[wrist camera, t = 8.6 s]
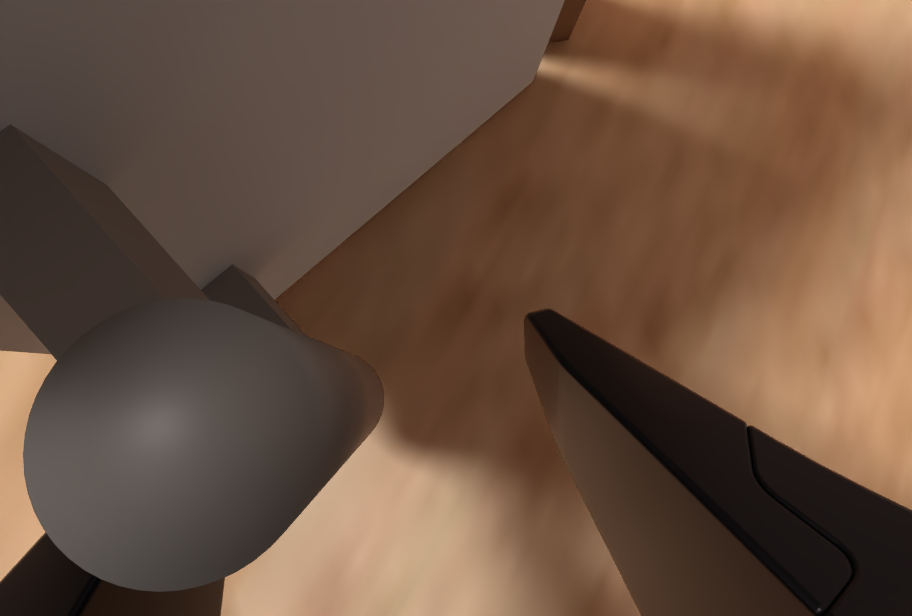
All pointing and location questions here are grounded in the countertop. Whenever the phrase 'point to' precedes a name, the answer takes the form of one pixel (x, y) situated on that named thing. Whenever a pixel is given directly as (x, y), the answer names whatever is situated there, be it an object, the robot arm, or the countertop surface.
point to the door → (211, 246)
